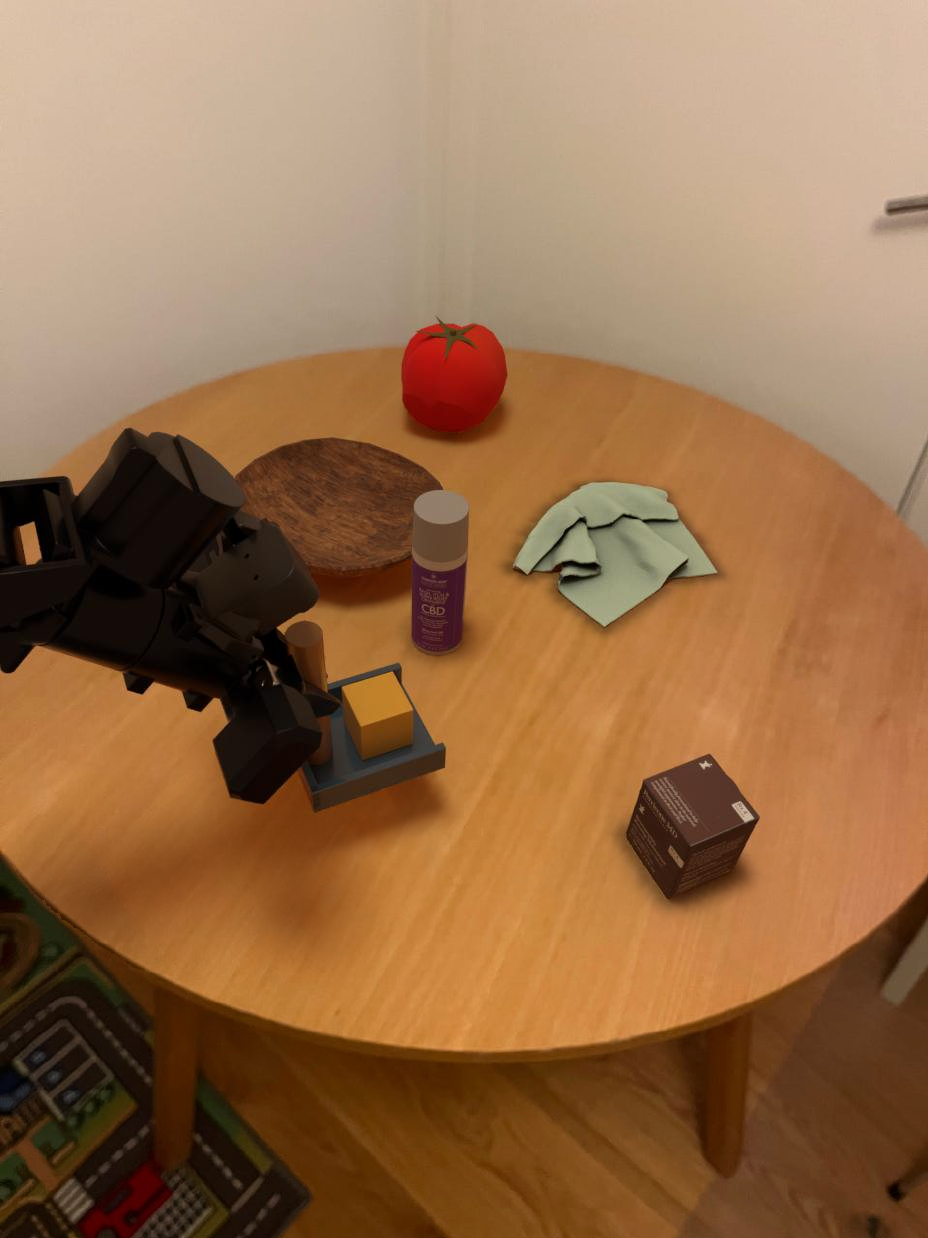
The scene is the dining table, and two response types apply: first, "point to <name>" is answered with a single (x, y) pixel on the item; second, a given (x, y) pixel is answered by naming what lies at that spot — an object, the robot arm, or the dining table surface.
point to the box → (690, 824)
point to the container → (439, 571)
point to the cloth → (613, 547)
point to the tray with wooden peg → (337, 761)
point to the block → (377, 715)
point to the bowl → (338, 502)
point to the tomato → (452, 376)
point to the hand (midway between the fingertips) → (330, 693)
